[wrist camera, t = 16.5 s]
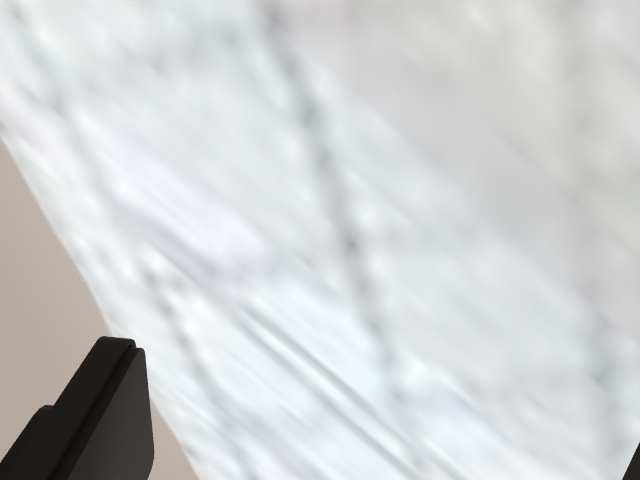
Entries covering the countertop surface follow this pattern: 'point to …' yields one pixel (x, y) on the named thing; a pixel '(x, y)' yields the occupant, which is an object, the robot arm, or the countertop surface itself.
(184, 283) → the countertop surface
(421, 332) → the countertop surface
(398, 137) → the countertop surface
